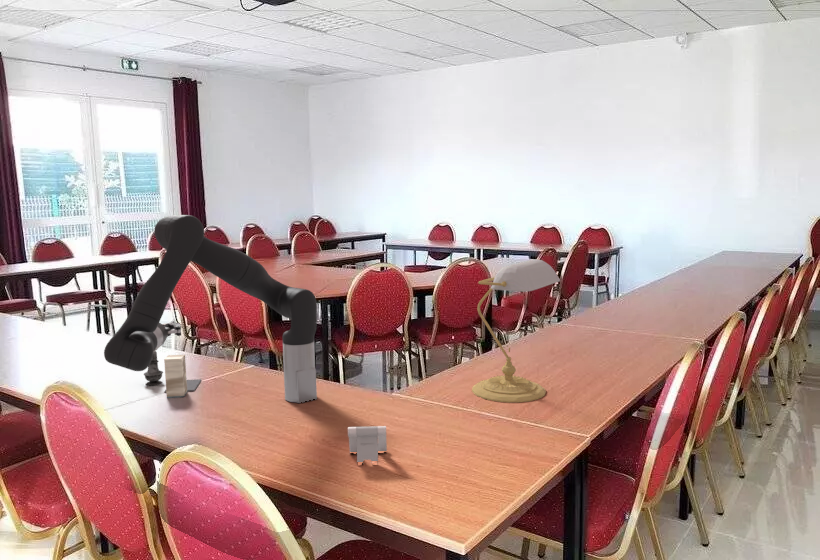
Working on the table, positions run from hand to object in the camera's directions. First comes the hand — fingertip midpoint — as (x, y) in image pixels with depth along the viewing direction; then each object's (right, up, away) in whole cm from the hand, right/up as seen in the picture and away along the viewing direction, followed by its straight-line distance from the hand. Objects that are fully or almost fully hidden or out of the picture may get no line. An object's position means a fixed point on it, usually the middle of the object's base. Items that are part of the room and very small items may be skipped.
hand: (164, 324), depth 186 cm
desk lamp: (+101, -21, +13) cm, 104 cm away
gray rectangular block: (-2, -21, +22) cm, 31 cm away
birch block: (-1, -22, +13) cm, 26 cm away
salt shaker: (-13, -21, +26) cm, 36 cm away
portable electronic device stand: (+61, -29, -36) cm, 76 cm away
